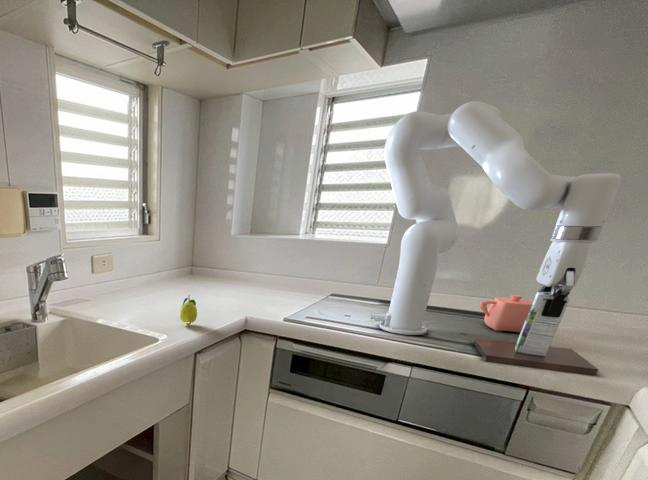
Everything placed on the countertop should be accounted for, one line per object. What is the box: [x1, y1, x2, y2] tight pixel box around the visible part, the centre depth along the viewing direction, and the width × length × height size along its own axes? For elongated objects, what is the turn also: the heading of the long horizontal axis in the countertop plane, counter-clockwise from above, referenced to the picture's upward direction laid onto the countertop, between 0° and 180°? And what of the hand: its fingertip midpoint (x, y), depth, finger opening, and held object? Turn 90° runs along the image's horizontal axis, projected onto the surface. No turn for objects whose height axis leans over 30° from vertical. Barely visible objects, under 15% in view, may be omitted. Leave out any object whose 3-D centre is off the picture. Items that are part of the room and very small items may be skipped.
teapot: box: [479, 294, 533, 334], centre depth 123 cm, size 12×18×10 cm, turn 66°
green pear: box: [179, 294, 198, 326], centre depth 129 cm, size 7×6×10 cm
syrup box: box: [515, 291, 571, 356], centre depth 98 cm, size 6×6×14 cm
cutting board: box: [473, 337, 599, 376], centre depth 101 cm, size 20×16×2 cm
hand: (545, 312), depth 97 cm, fingers closed on syrup box, 6 cm apart
